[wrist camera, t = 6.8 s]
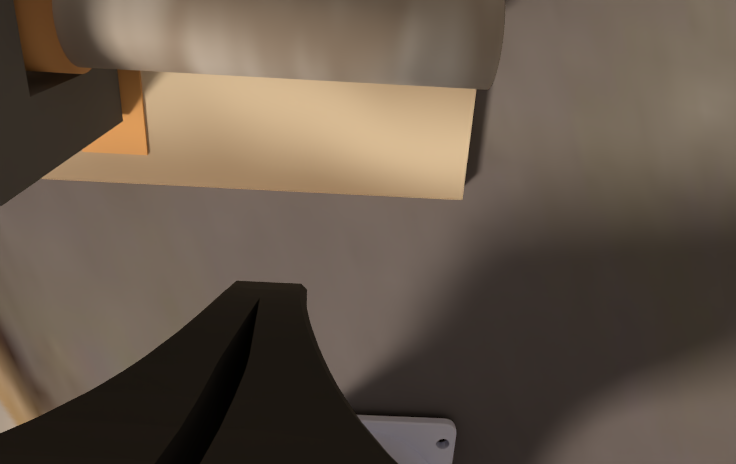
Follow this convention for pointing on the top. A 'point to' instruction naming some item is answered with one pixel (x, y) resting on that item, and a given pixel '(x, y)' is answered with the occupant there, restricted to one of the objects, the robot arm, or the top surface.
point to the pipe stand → (277, 90)
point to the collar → (46, 112)
